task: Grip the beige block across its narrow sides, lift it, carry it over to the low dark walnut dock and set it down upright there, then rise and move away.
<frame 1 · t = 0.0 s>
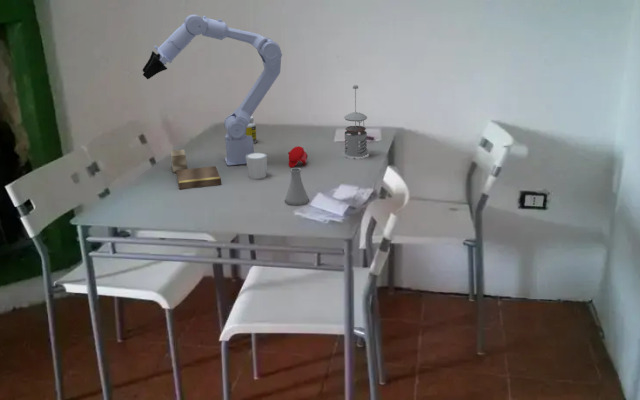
hand: (144, 74, 214), 32 cm above the table, tool tilted 50°, fingers open, 7 cm apart
french press: (356, 154, 238), on the table
flask: (296, 202, 197), on the table
shot glass: (257, 176, 219), on the table
cap: (297, 165, 228), on the table
beige block: (179, 169, 226), on the table
dock: (198, 180, 216), on the table
supplement bottle: (249, 142, 255), on the table
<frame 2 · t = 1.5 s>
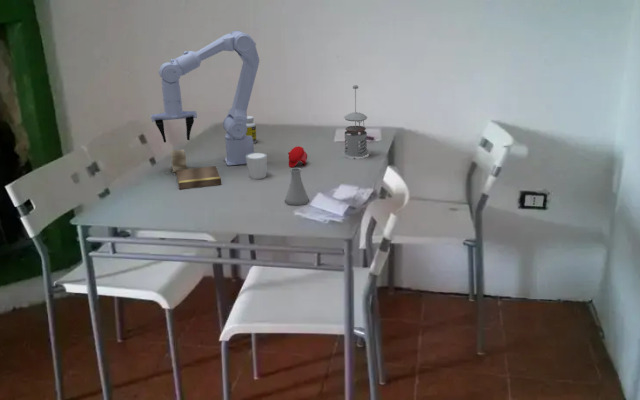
hand: (176, 140, 223), 10 cm above the table, tool pointing down, fingers open, 7 cm apart
nothing on the table moved.
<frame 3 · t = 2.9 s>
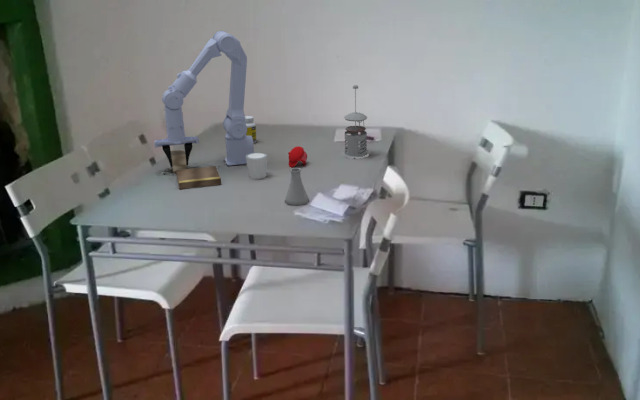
hand: (179, 165, 226), 1 cm above the table, tool pointing down, fingers closed on beige block, 4 cm apart
beige block: (179, 169, 226), on the table, touching gripper
everything else where it was.
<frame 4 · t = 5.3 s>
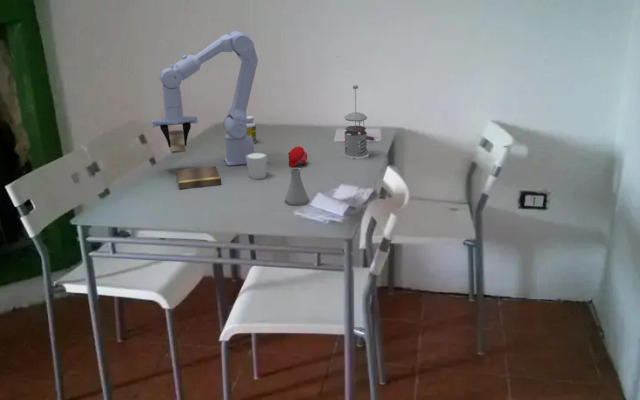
hand: (177, 145, 223), 8 cm above the table, tool pointing down, fingers closed on beige block, 4 cm apart
beige block: (177, 149, 224), point 7 cm above the table, touching gripper
everything else where it was.
when the fingers open (4 cm above the table, at t = 7.8 s): beige block stays where it is, resting on dock.
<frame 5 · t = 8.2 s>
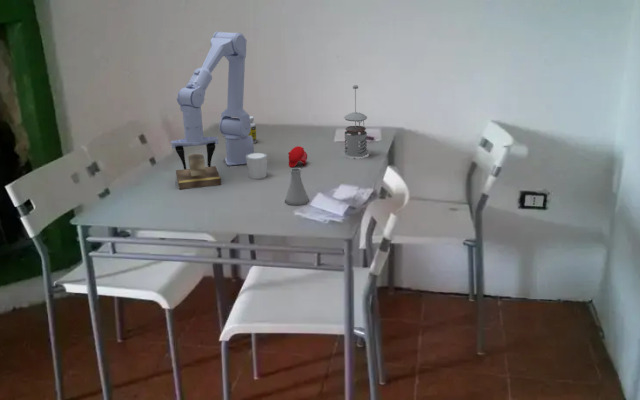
hand: (197, 167, 214), 4 cm above the table, tool pointing down, fingers open, 7 cm apart
beige block: (197, 174, 215), point 2 cm above the table, touching dock
everything else where it was.
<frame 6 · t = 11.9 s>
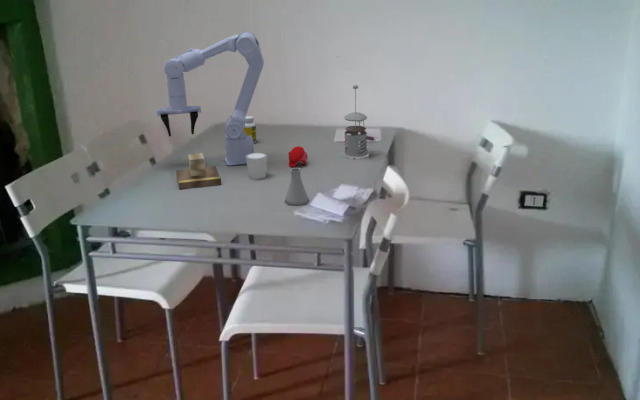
hand: (181, 134, 228), 10 cm above the table, tool pointing down, fingers open, 7 cm apart
nothing on the table moved.
at the end: beige block inside the target area on the dock (0.1 cm from its centre), point 2.0 cm above the dock's base; beige block tilted 0°; the gripper is holding nothing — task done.
